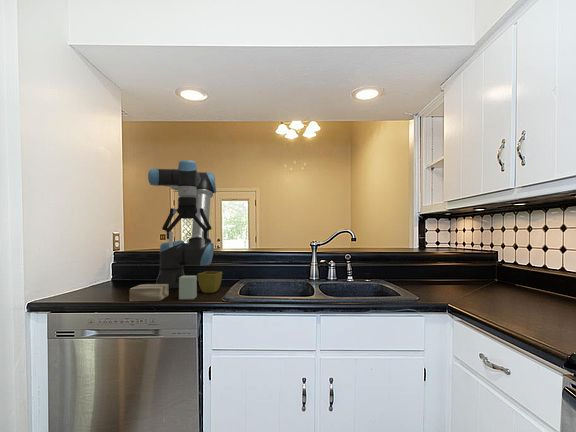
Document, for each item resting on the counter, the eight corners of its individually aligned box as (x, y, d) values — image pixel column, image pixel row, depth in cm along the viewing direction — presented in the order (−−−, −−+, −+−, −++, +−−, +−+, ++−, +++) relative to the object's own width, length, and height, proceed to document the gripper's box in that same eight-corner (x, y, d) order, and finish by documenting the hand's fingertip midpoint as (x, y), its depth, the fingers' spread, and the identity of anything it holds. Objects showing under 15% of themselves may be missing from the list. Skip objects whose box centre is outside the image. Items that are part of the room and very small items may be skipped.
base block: (140, 295, 150) (141, 284, 150) (168, 295, 150) (168, 283, 150) (129, 301, 138) (129, 288, 138) (159, 300, 138) (159, 288, 138)
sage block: (182, 296, 147) (182, 275, 148) (196, 296, 148) (196, 275, 148) (178, 299, 141) (179, 277, 142) (193, 299, 142) (193, 277, 142)
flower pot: (215, 294, 153) (215, 274, 153) (197, 293, 154) (197, 273, 155) (222, 290, 161) (222, 271, 162) (205, 290, 163) (205, 271, 163)
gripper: (154, 196, 141) (154, 247, 140) (215, 196, 142) (215, 247, 141) (160, 197, 148) (160, 246, 147) (218, 197, 149) (218, 246, 148)
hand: (187, 247), depth 144 cm, fingers open, 13 cm apart
